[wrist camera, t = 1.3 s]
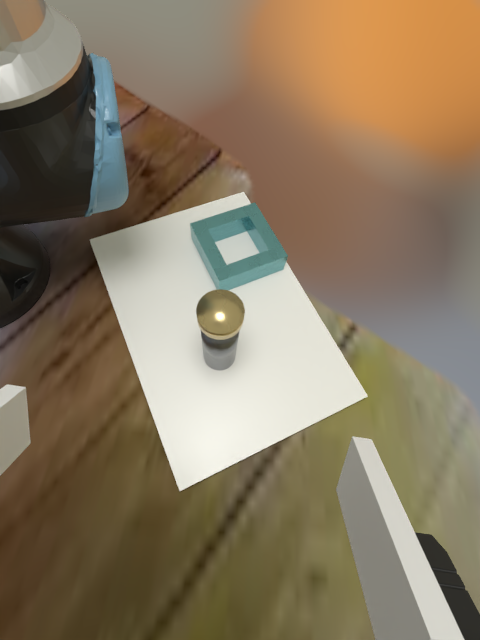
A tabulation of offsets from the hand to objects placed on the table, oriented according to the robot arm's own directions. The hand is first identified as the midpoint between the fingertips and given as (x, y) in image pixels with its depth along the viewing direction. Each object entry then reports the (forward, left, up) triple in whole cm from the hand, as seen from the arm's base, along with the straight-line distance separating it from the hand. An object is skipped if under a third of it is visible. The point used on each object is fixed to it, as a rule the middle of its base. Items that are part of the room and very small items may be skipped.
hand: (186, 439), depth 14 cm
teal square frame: (-21, +13, -22) cm, 34 cm away
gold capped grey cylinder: (-9, +6, -22) cm, 25 cm away
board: (-14, +8, -23) cm, 29 cm away
